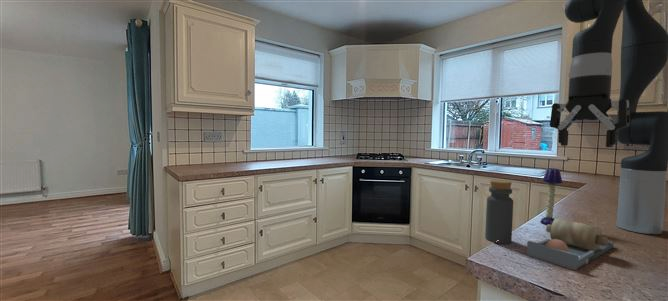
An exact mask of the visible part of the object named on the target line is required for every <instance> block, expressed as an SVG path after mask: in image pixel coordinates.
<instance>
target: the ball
mask: <svg viewBox="0 0 668 301" xmlns="http://www.w3.org/2000/svg"><path fill="white" fill-rule="evenodd" d="M546 246H549V247H553V248H557V249H560V250H564V251H567V252H568V247H567V245H566V244H565V243H564V242H563V241H561V240H558V239H550V240H549V241H548V242H547V243H546Z"/></svg>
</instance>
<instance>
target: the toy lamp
mask: <svg viewBox="0 0 668 301" xmlns="http://www.w3.org/2000/svg"><path fill="white" fill-rule="evenodd" d="M542 182H544V183H548V190H547V191H548V193H547V196H548V197H547V199H546V201H547V203H546V213H545V217H542V218H541V219H540V223H541V224H542V225H546V226H547V225H548V224H551V225H552V223H553V221H554V220H555V219H556V218H553V216H554V214H553V213H554V207H555V204H554V203H555V197H556V193H555V192H556V186H557V184H558V185H559V184H560V185H561V184H563V179H562V174H561V171H560V169H559V168H553V167H552V168H551V167H550V168H549V167H548V168H547V169H546V171H545V174H544V176H543V178H542Z"/></svg>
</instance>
